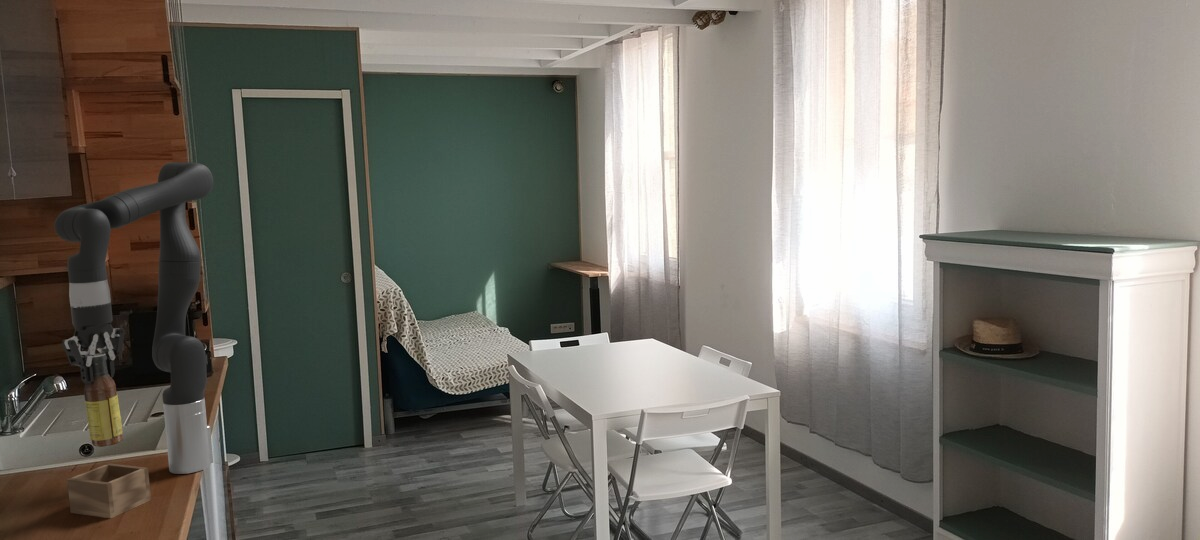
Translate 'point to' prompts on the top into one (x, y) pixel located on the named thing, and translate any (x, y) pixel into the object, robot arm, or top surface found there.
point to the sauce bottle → (102, 405)
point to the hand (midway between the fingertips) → (98, 379)
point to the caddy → (109, 490)
